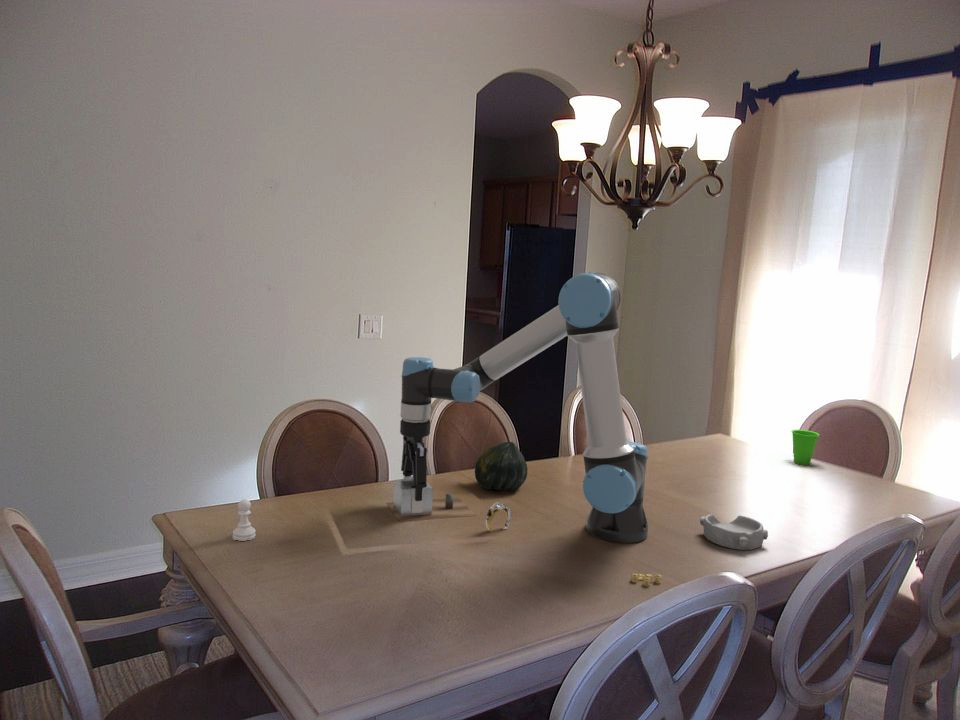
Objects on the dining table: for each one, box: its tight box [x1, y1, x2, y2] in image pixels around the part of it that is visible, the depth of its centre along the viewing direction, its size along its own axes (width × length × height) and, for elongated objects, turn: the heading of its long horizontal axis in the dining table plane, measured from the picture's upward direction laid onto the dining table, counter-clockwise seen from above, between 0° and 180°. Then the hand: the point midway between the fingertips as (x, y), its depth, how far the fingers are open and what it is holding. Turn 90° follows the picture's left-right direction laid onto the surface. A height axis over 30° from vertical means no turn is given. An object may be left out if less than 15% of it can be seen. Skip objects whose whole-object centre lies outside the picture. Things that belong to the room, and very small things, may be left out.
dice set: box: [630, 573, 663, 587], centre depth 154 cm, size 5×5×2 cm
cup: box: [790, 429, 820, 466], centre depth 256 cm, size 9×9×11 cm
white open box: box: [392, 478, 434, 517], centre depth 185 cm, size 8×8×7 cm
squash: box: [474, 441, 529, 492], centre depth 210 cm, size 14×15×15 cm
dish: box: [699, 513, 769, 551], centre depth 179 cm, size 14×14×5 cm
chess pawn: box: [232, 499, 257, 541], centre depth 165 cm, size 5×5×9 cm
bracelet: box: [485, 501, 512, 533], centre depth 175 cm, size 7×3×8 cm, turn 121°
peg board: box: [386, 493, 477, 523], centre depth 187 cm, size 14×20×6 cm
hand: (412, 506), depth 185 cm, fingers closed on white open box, 8 cm apart
